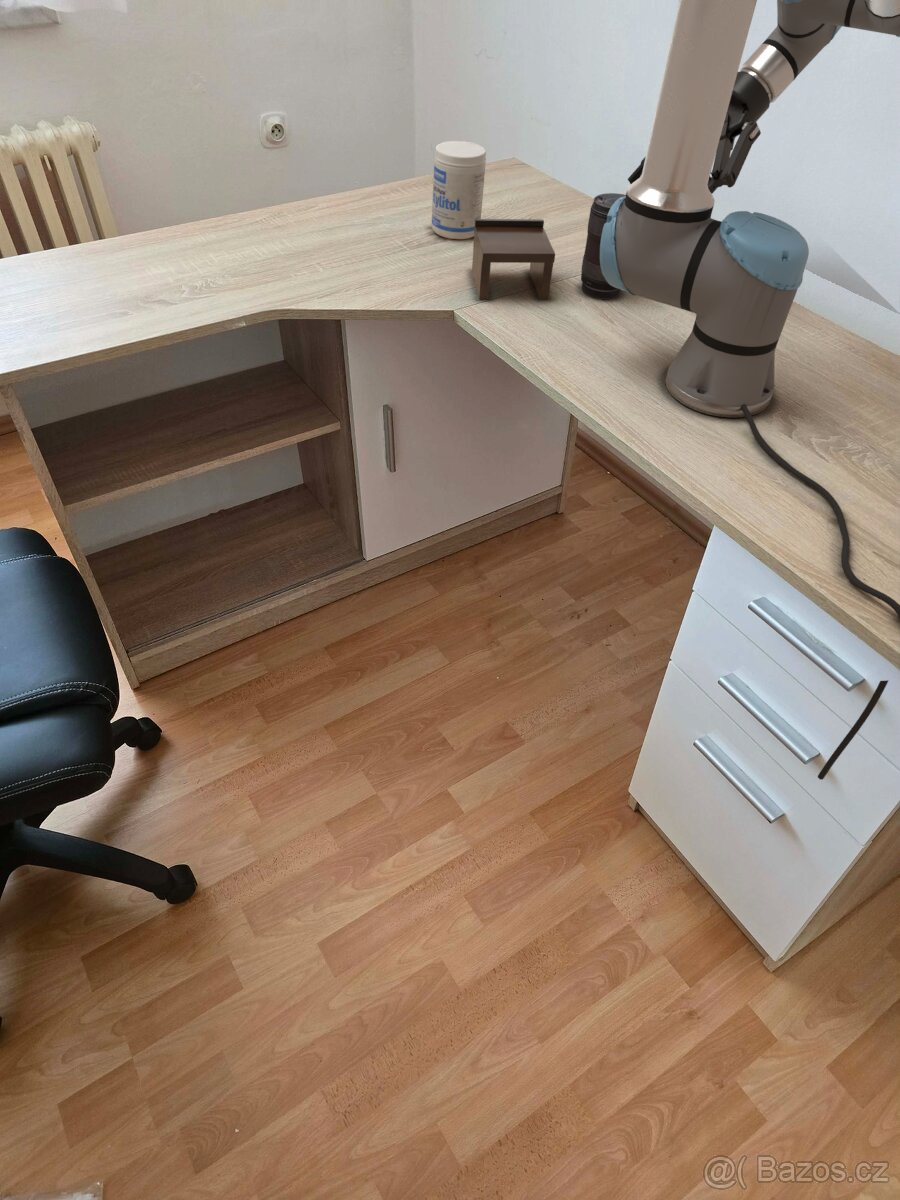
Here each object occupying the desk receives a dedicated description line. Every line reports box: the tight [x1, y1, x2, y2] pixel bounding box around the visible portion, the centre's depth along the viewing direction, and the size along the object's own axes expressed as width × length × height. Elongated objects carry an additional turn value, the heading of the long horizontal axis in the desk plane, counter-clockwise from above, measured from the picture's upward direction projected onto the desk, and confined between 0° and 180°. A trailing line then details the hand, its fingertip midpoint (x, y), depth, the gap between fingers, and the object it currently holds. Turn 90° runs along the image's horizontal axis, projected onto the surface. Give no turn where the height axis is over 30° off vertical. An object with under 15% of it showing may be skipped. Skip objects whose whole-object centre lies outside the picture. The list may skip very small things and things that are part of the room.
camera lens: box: [580, 192, 626, 300], centre depth 132 cm, size 8×8×15 cm
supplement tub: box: [431, 140, 487, 240], centre depth 148 cm, size 10×10×15 cm
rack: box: [471, 218, 556, 301], centre depth 134 cm, size 12×12×9 cm
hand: (655, 199), depth 130 cm, fingers open, 13 cm apart
